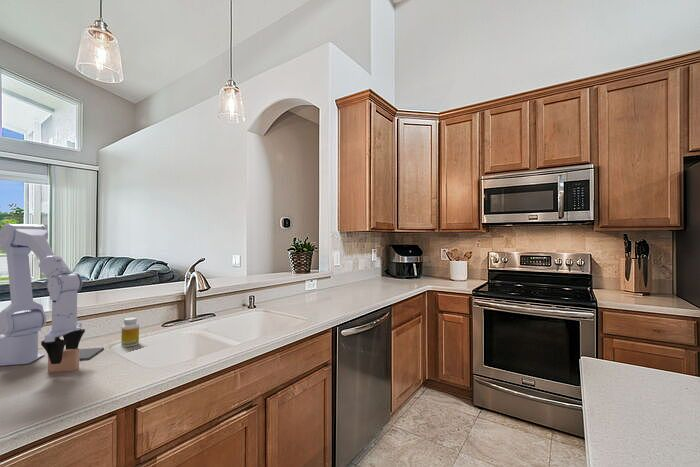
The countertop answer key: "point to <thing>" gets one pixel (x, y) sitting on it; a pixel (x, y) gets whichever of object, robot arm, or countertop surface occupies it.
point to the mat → (88, 353)
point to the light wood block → (66, 361)
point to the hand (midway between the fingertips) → (64, 358)
